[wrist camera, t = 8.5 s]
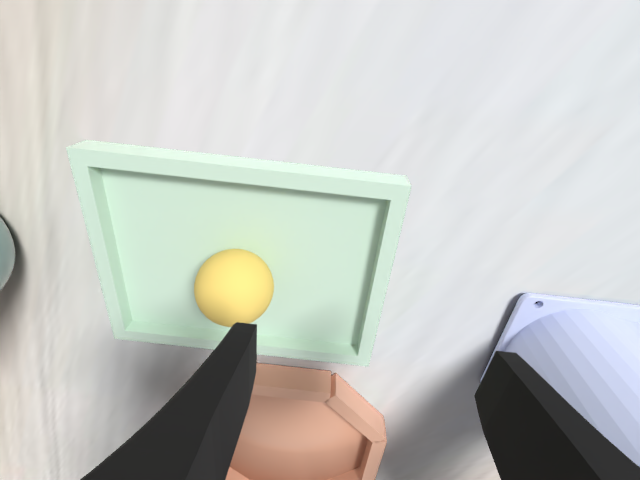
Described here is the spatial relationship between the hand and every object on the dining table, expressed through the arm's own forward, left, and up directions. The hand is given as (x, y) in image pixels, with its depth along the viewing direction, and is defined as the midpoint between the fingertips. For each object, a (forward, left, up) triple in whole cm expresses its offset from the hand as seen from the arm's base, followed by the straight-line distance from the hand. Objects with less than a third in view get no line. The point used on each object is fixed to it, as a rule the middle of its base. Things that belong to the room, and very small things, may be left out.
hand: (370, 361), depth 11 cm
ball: (+6, +3, -9) cm, 11 cm away
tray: (+6, +3, -9) cm, 12 cm away
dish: (+3, +19, -9) cm, 21 cm away
